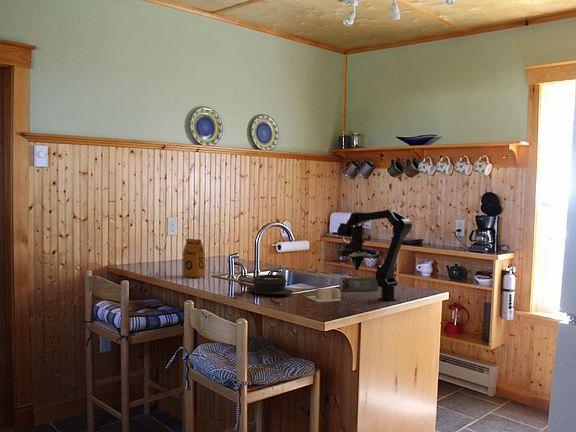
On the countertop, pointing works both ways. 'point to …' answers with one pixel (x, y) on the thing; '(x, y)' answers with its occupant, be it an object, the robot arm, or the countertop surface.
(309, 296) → the mat
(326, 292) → the beige bevelled block
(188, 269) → the coffee package
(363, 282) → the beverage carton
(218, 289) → the countertop surface
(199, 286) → the countertop surface
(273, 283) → the casserole
